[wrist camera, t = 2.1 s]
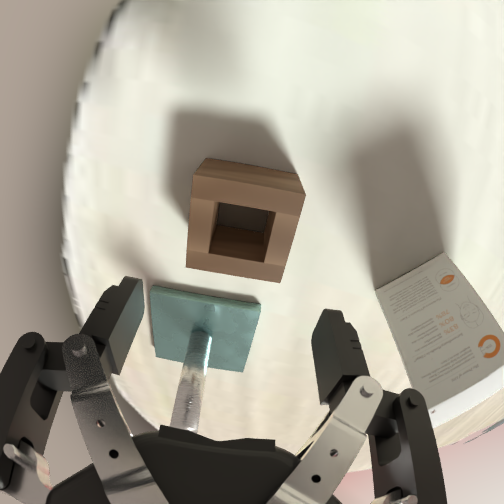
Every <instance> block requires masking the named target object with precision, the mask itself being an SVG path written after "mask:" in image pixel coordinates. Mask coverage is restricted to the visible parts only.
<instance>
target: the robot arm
mask: <svg viewBox="0 0 504 504" xmlns="http://www.w3.org/2000/svg"><path fill="white" fill-rule="evenodd" d="M143 314H144V294H143V282H142V279H138V278H133V277H128V276H125V277H124V278H123V280H122V281H121V283H120V285H119V286H115V285H112V286H111V287H110V288H108V289H107V290H106V291H104V293H103V294H102V296H101V297H100V299H99V302H97V304H96V306H95V308H94V309H93V311H92V312H91V314H90V316H89V317H88V319H87V321H86V323H85V324H84V326H83V328H82V329H81V331H80V333H79V334H75V335H72V336H70V337H69V338H67V339H66V340H65V341H64V342H45V340H44V338H43V337H42V336H41V335H40V334H39V333H36V332H29V333H26V334H24V335H23V336H21V337H20V338H19V340H18V341H17V343H16V345H15V347H14V349H13V350H12V352H11V354H10V356H9V358H8V360H7V362H6V364H5V365H4V367H3V369H2V372H1V373H0V492H2V493H4V494H7V495H9V496H12V497H14V498H15V499H17V500H19V501H21V502H22V503H24V504H342V503H341V502H340V501H339V500H338V499H337V498H336V497H335V496H334V495H333V492H334V491H335V490H336V488H337V486H338V485H339V484H340V482H341V480H342V479H343V477H344V476H345V474H346V473H347V471H348V469H349V468H350V466H351V465H352V463H353V461H354V459H355V458H356V456H357V454H358V453H359V451H360V449H361V447H362V445H363V444H364V442H365V440H366V436H367V435H366V434H368V437H369V445H370V453H371V462H372V471H373V482H374V494H375V500H373V501H372V502H371V503H370V504H447V498H446V491H445V485H444V479H443V473H442V468H441V462H440V457H439V453H438V448H437V444H436V439H435V435H434V431H433V427H432V423H431V420H430V416H429V412H428V409H427V405H426V402H425V399H424V397H423V395H422V394H421V393H420V392H419V391H417V390H415V389H412V388H408V389H405V390H403V391H402V392H401V393H400V394H396V393H392V392H389V391H385V390H383V389H382V387H381V385H380V383H379V382H378V381H377V380H375V379H374V378H372V377H370V374H369V371H368V367H367V364H366V360H365V357H364V354H363V350H361V348H362V347H361V344H360V342H359V338H358V334H357V331H356V330H355V329H354V327H353V326H352V325H351V324H350V323H347V322H345V320H344V317H343V313H342V311H340V310H332V309H324V310H323V312H322V314H321V316H320V318H319V320H318V323H317V325H316V327H315V329H314V331H313V334H312V340H311V344H312V351H313V358H314V364H315V371H316V378H317V384H318V392H319V399H320V405H329V408H330V410H329V412H328V413H327V414H326V416H325V417H324V419H323V420H322V421H321V423H320V424H319V426H318V427H317V428H316V430H315V431H314V432H313V434H312V435H311V436H310V438H309V439H308V440H307V442H306V443H305V444H304V445H303V446H302V447H301V448H300V450H299V451H298V452H297V453H296V454H295V455H293V454H292V453H290V452H288V451H287V450H285V449H282V448H279V447H276V446H275V440H270V439H253V438H244V439H236V440H228V441H214V440H212V439H209V438H206V437H204V436H201V435H199V434H196V433H194V432H191V431H189V430H184V429H179V428H174V427H169V426H164V425H160V429H159V431H150V432H145V433H141V434H138V435H135V436H132V433H131V432H130V429H129V427H128V425H127V423H126V421H125V419H124V417H123V415H122V412H121V410H120V408H119V405H118V403H117V401H116V398H115V396H114V394H113V391H112V388H111V386H110V383H109V378H110V376H111V373H113V374H117V375H120V373H121V370H122V367H123V365H124V362H125V359H126V357H127V354H128V352H129V349H130V347H131V344H132V342H133V339H134V337H135V335H136V332H137V330H138V327H139V325H140V323H141V320H142V318H143ZM63 391H72V394H71V396H70V397H71V402H72V406H73V409H74V412H75V415H76V418H77V421H78V424H79V427H80V430H81V433H82V436H83V438H84V441H85V444H86V446H87V449H88V451H89V454H90V456H91V459H92V461H93V463H92V464H90V465H89V466H87V467H85V468H84V469H82V470H80V471H79V472H77V473H76V474H74V475H72V476H71V477H69V478H67V479H66V480H64V481H62V482H60V483H59V484H57V485H56V486H54V487H53V486H52V485H51V482H50V478H49V473H50V470H49V464H48V462H47V460H46V459H45V457H44V456H43V454H44V450H45V446H46V442H47V439H48V436H49V433H50V429H51V426H52V423H53V420H54V417H55V414H56V411H57V408H58V405H59V402H60V399H61V397H62V394H63Z"/></svg>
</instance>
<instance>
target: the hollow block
mask: <svg viewBox="0 0 504 504" xmlns="http://www.w3.org/2000/svg"><path fill="white" fill-rule="evenodd" d="M305 196H306V194H305V191H304V189H303V186H302V184H301V181H300V179H299V176H298V174H293V173H289V172H284V171H279V170H274V169H269V168H264V167H258V166H253V165H247V164H241V163H235V162H229V161H223V160H216V159H210V158H206V159H205V160H204V161H203V163H202V164H201V165H200V167H199V168H198V169H197V170H196V172H195V173H194V174H193V181H192V191H191V202H190V213H189V225H188V238H187V253H186V267H187V268H193V269H198V270H204V271H210V272H216V273H222V274H227V275H233V276H239V277H245V278H252V279H258V280H264V281H270V282H277V283H280V282H281V279H282V276H283V272H284V269H285V266H286V262H287V259H288V256H289V252H290V249H291V245H292V242H293V239H294V235H295V232H296V228H297V225H298V221H299V218H300V214H301V211H302V207H303V204H304V200H305ZM220 202H222V203H228V204H234V205H240V206H246V207H251V208H257V209H262V210H268V211H269V212H268V217H267V221H266V225H265V230H264V233H262V232H256V231H251V230H245V229H239V228H233V227H227V226H222V225H217V219H218V212H219V205H220Z"/></svg>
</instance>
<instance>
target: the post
mask: <svg viewBox="0 0 504 504" xmlns="http://www.w3.org/2000/svg"><path fill="white" fill-rule="evenodd" d="M150 304H151V316H152V326H153V336H154V345H155V353H156V357H159V358H163V359H168V360H173V361H178V362H183V363H184V364H183V368H182V372H181V377H180V381H179V386H178V390H177V395H176V399H175V404H174V409H173V413H172V418H171V423H170V427H174V428H179V429H184V430H189V431H191V432H194V433H197V430H198V423H199V417H200V410H201V404H202V397H203V391H204V385H205V378H206V372H207V367H210V368H216V369H223V370H229V371H236V372H243V370H244V367H245V364H246V360H247V357H248V354H249V350H250V347H251V343H252V340H253V337H254V333H255V330H256V326H257V323H258V319H259V316H260V312H261V304H256V303H249V302H243V301H237V300H230V299H224V298H218V297H213V296H207V295H201V294H196V293H190V292H185V291H179V290H174V289H169V288H164V287H159V286H154V285H153V286H152V288H151V291H150Z"/></svg>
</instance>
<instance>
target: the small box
mask: <svg viewBox="0 0 504 504" xmlns="http://www.w3.org/2000/svg"><path fill="white" fill-rule="evenodd" d="M375 293H376V295H377V298H378V300H379V303H380V305H381V308H382V310H383V313H384V315H385V318H386V320H387V323H388V325H389V328H390V330H391V333H392V335H393V338H394V341H395V343H396V346H397V348H398V351H399V354H400V356H401V359H402V362H403V364H404V367H405V370H406V373H407V375H408V378H409V381H410V384H411V386H412V389H415V390H417V391H419V392H420V393H421V394H422V395H423V397H424V399H425V402H426V405H427V409H428V412H429V416H430V420H431V423H432V427H433V428H435V427H437V426H439V425H441V424H443V423H445V422H447V421H449V420H451V419H453V418H455V417H457V416H459V415H460V414H462V413H464V412H466V411H468V410H469V409H471V408H473V407H474V406H476V405H478V404H479V403H481V402H482V401H484V400H486V399H487V398H489V397H490V396H492V395H493V394H495V393H496V392H498V391H499V390H501V389H502V388H504V332H503V331H502V329H501V327H500V326H499V324H498V323H497V321H496V320H495V318H494V317H493V315H492V314H491V312H490V311H489V309H488V308H487V306H486V305H485V304H484V302H483V301H482V299H481V298H480V297H479V295H478V294H477V292H476V291H475V290H474V288H473V287H472V286H471V284H470V283H469V282H468V280H467V279H466V278H465V276H464V275H463V274H462V273H461V271H460V270H459V269H458V268H457V266H456V265H455V264H454V263H453V262H452V260H451V259H450V258H449V257H448V256H447V255H446V254H445V253H444V252H443V253H441V254H440V255H438V256H437V257H435V258H433V259H432V260H430V261H428V262H426V263H425V264H423V265H421V266H419V267H418V268H416V269H414V270H412V271H411V272H409V273H407V274H405V275H403V276H402V277H400V278H398V279H396V280H394V281H392V282H390V283H388V284H387V285H385V286H383V287H381V288H379V289H377V290H375Z"/></svg>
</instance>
